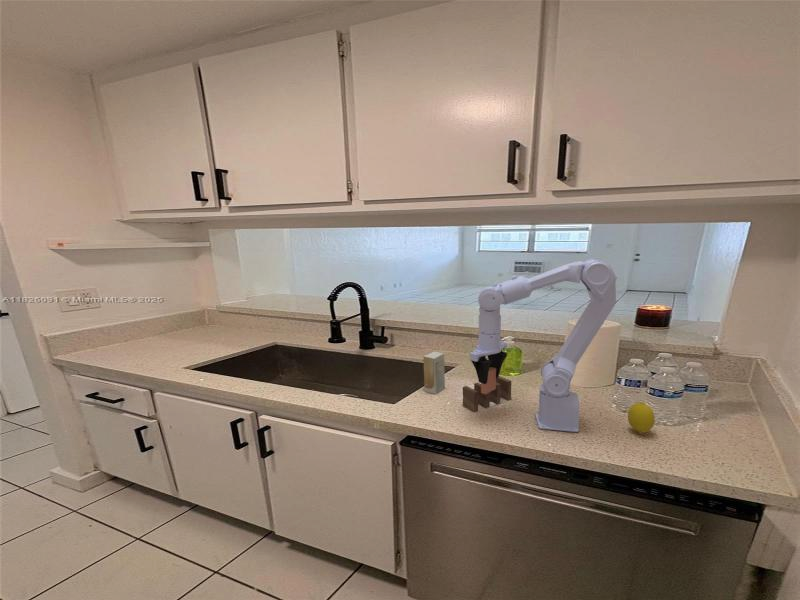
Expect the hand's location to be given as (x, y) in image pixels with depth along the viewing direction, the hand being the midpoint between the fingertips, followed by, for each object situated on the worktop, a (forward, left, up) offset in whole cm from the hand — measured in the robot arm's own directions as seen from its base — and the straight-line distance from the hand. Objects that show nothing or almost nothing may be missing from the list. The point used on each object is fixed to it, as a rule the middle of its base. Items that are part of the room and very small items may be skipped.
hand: (488, 380), depth 100 cm
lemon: (-37, +2, -11) cm, 38 cm away
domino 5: (-4, -13, -11) cm, 17 cm away
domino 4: (-1, -10, -11) cm, 15 cm away
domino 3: (+2, -7, -11) cm, 13 cm away
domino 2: (0, 0, -3) cm, 3 cm away
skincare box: (+17, -15, -11) cm, 25 cm away
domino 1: (+5, -4, -11) cm, 12 cm away
